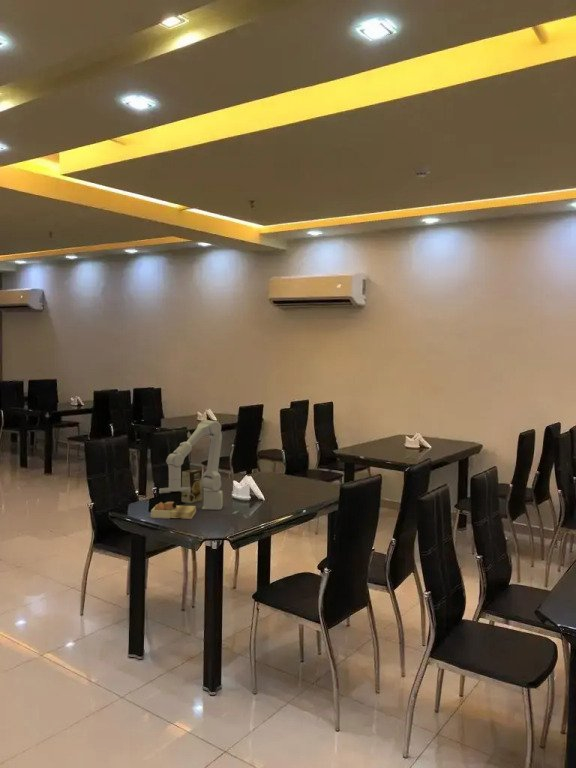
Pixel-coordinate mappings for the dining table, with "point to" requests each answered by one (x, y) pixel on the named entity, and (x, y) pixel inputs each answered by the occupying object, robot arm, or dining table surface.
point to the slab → (183, 512)
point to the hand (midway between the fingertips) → (174, 507)
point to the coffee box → (192, 485)
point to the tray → (160, 513)
